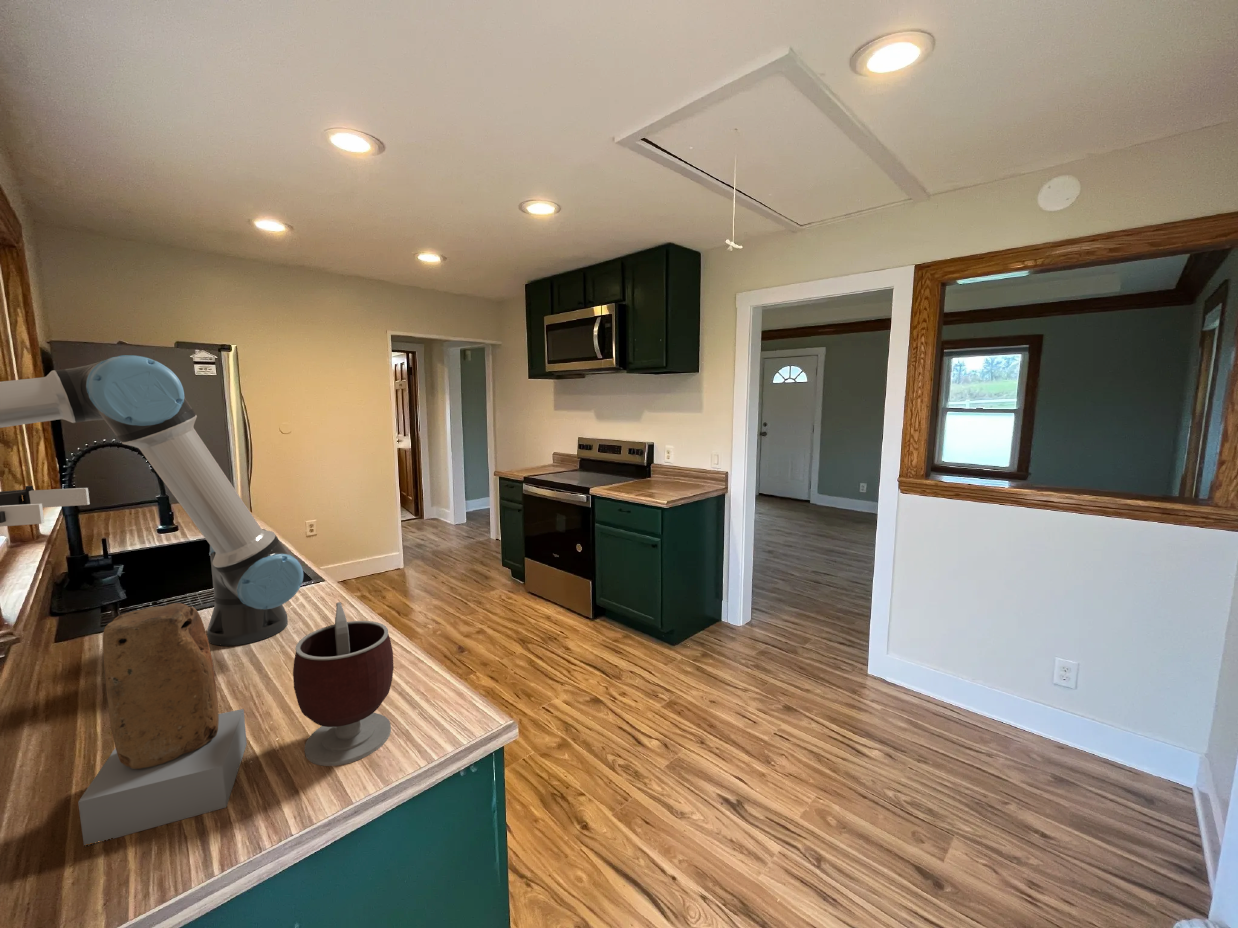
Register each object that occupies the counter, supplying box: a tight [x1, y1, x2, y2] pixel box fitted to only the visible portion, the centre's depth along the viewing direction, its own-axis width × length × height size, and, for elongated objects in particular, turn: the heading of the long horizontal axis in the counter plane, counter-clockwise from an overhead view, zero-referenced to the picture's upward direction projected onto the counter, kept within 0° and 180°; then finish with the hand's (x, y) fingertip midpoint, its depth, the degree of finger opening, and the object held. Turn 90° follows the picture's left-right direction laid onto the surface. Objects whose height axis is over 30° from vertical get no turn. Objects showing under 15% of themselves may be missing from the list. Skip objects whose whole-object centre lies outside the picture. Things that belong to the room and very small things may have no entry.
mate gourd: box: [292, 601, 395, 767], centre depth 82 cm, size 16×14×20 cm
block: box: [102, 602, 220, 769], centre depth 70 cm, size 11×8×20 cm
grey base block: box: [78, 708, 248, 846], centre depth 71 cm, size 14×14×6 cm
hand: (67, 504), depth 77 cm, fingers open, 13 cm apart
